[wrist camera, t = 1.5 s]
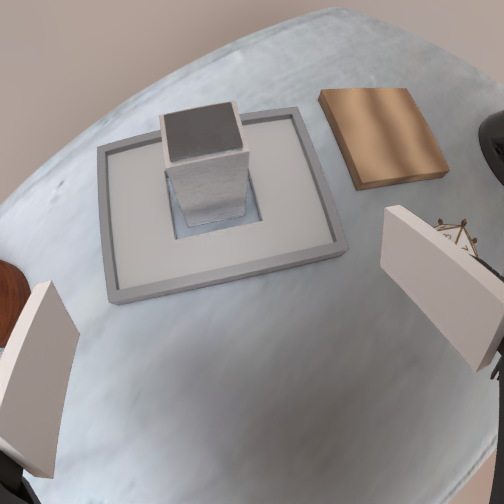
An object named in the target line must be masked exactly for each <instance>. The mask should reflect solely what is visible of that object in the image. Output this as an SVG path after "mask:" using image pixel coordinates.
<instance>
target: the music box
mask: <svg viewBox="0 0 504 504" xmlns="http://www.w3.org/2000/svg"><path fill="white" fill-rule="evenodd" d="M30 295H31V292H30V288H29V285H28V282H27V280H26V278H25V276H24V274H23V273H22V272H21V271H20V270H19V269H18V268H17V267H16V266H14V265H12V264H9V263H7V262H4V261H2V260H0V348H5V347H6V345H7V342H8V340H9V338H10V336H11V333H12V331H13V329H14V327H15V325H16V323H17V321H18V319H19V317H20V315H21V313H22V311H23V309H24V307H25V305H26V303H27V301H28V299H29V297H30Z"/></svg>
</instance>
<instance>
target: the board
mask: <svg viewBox="0 0 504 504" xmlns="http://www.w3.org/2000/svg"><path fill="white" fill-rule="evenodd" d="M318 100H319V102H320V104H321V107H322V109H323V111H324V113H325V115H326V118H327V120H328V122H329V124H330V127H331V129H332V131H333V134H334V136H335V138H336V141H337V143H338V145H339V148H340V150H341V153H342V155H343V157H344V160H345V162H346V165H347V167H348V170H349V173H350V175H351V178H352V180H353V183H354V186H355V188H356V190H362V189H368V188H374V187H381V186H387V185H393V184H399V183H406V182H413V181H419V180H426V179H433V178H440V177H443V176H444V175H445V174H447V173H448V172H449V171H450V169H449V167H448V165H447V163H446V161H445V159H444V157H443V154H442V152H441V150H440V148H439V146H438V144H437V142H436V140H435V138H434V136H433V134H432V133H431V131H430V129H429V127H428V125H427V123H426V121H425V120H424V118H423V116H422V114H421V112H420V111H419V109H418V107H417V105H416V104H415V102H414V100H413V99H412V97H411V95H410V94H409V92H408V90H407V89H403V88H350V89H327V90H321V92H320V95H319V98H318Z"/></svg>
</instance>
